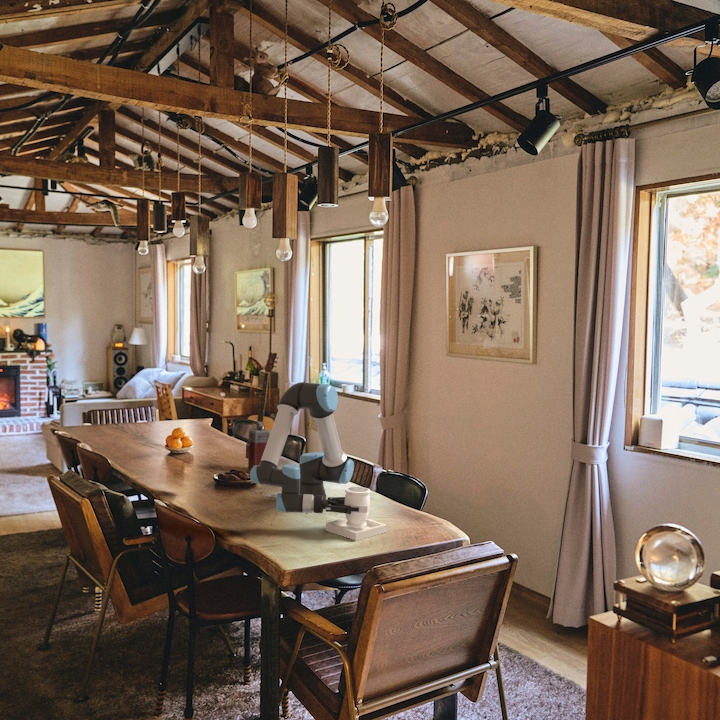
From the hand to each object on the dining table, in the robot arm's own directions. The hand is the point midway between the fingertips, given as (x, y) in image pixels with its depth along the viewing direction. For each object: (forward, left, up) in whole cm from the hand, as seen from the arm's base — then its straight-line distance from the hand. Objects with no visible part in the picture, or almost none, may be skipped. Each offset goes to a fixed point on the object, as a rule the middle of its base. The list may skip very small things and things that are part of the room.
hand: (367, 505), depth 291 cm
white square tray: (+3, -3, -11) cm, 12 cm away
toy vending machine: (-30, -118, -11) cm, 122 cm away
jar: (+3, -3, -8) cm, 10 cm away
